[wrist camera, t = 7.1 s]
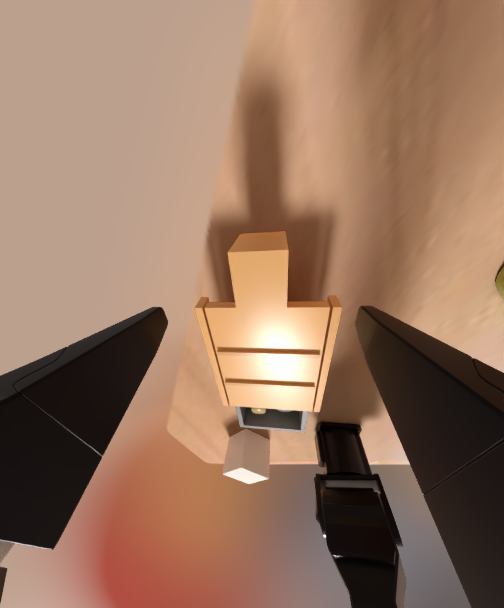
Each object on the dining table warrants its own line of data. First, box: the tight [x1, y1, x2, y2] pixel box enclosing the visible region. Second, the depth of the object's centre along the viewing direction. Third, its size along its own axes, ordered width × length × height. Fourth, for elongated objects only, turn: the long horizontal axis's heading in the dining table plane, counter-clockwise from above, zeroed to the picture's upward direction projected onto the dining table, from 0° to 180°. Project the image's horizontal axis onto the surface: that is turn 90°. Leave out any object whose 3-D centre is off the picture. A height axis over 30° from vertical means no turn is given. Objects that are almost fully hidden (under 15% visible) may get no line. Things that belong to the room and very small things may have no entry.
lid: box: [195, 231, 342, 412], centre depth 16 cm, size 11×19×4 cm, turn 5°
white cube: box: [223, 429, 270, 484], centre depth 36 cm, size 6×6×6 cm
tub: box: [235, 406, 308, 433], centre depth 24 cm, size 9×13×4 cm
